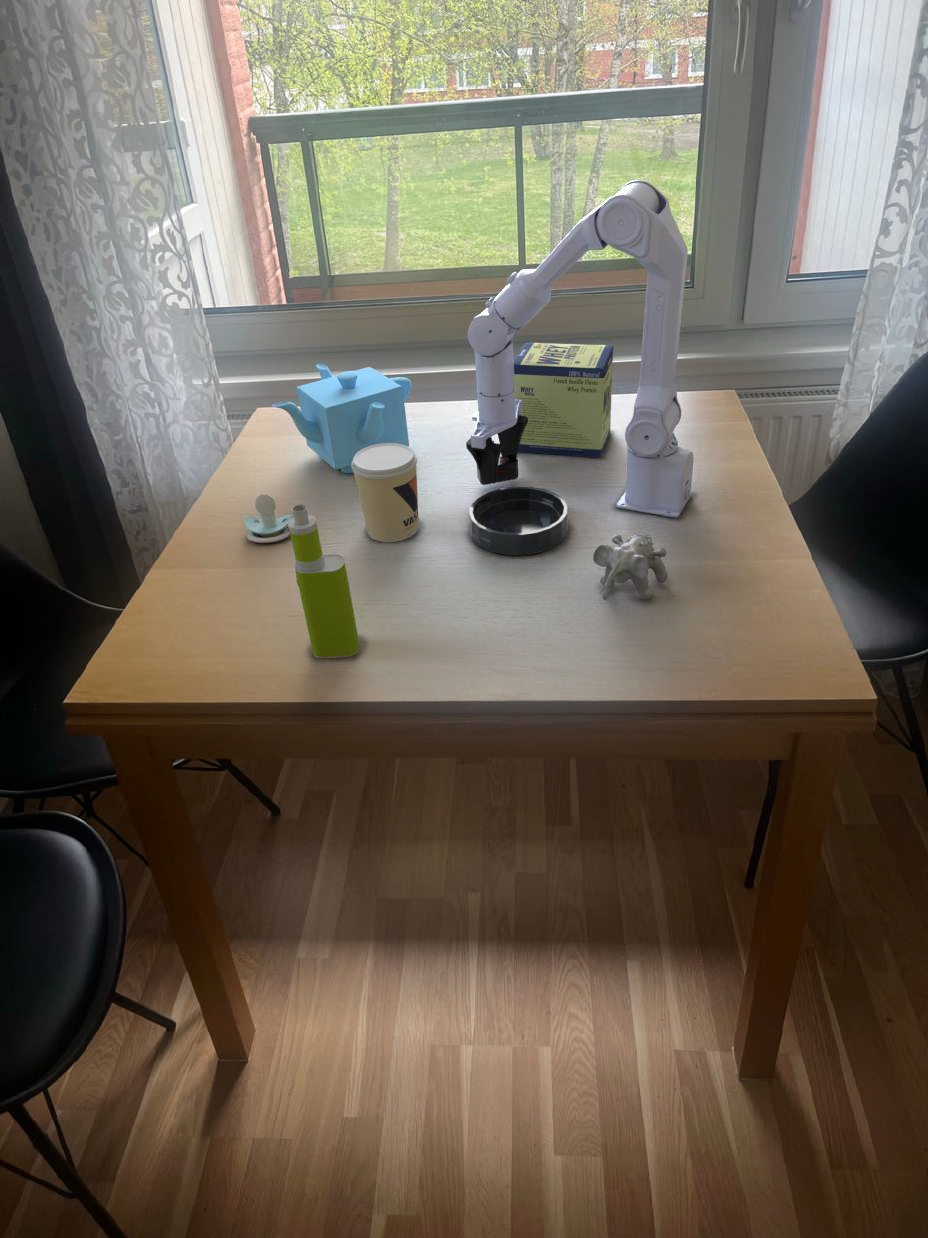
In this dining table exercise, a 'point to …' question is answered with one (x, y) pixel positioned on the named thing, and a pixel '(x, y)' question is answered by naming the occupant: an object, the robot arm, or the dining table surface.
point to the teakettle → (350, 413)
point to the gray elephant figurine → (631, 564)
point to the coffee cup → (387, 490)
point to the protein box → (564, 397)
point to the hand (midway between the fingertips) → (499, 471)
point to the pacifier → (267, 522)
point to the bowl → (518, 520)
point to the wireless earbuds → (504, 470)
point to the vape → (322, 590)
